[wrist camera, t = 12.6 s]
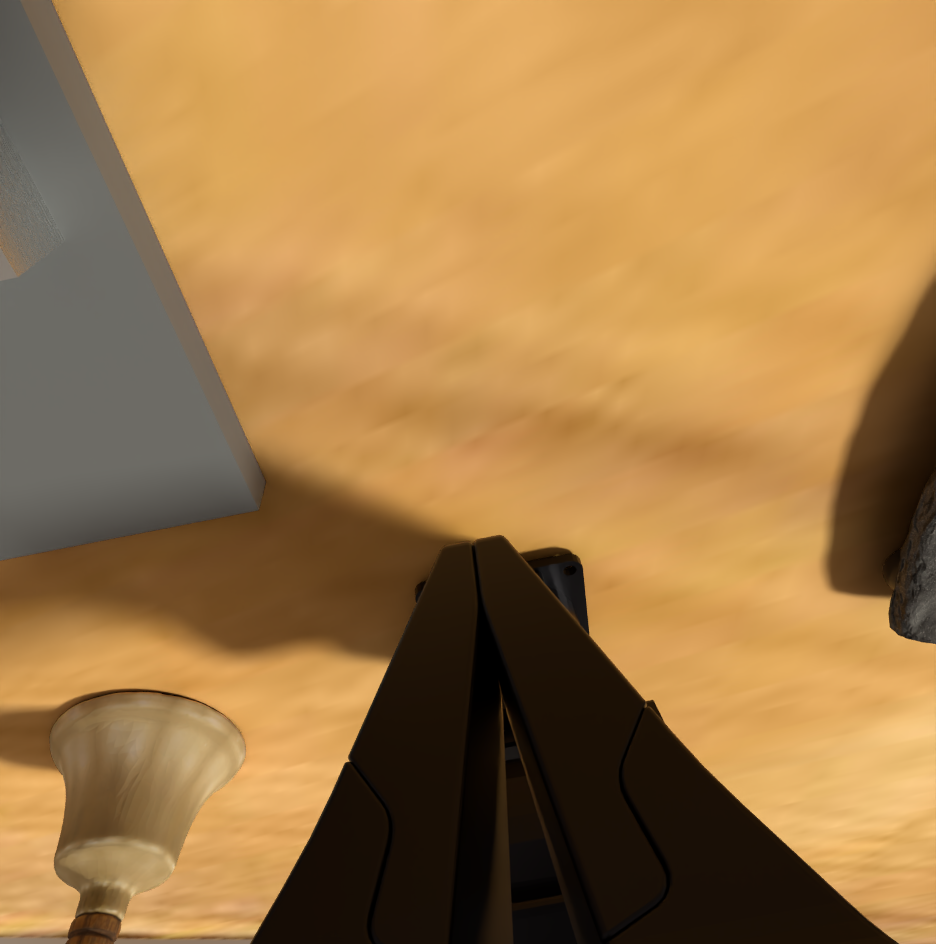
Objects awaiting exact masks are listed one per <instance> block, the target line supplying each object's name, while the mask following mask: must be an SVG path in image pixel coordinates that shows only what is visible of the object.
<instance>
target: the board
mask: <svg viewBox="0 0 936 944" xmlns="http://www.w3.org/2000/svg"><path fill="white" fill-rule="evenodd" d="M0 119H1V121H2V123H3V125H4V127H5V128H6V130H7V132H8V134H9V136H10V138H11V140H12V142H13V144H14V146H15V147H16V149H17V151H18V153H19V155H20V157H21V159H22V161H23V163H24V165H25V166H26V168H27V170H28V172H29V174H30V176H31V178H32V180H33V182H34V184H35V186H36V187H37V189H38V191H39V193H40V195H41V197H42V199H43V201H44V203H45V205H46V206H47V208H48V210H49V212H50V214H51V216H52V218H53V220H54V222H55V224H56V226H57V227H58V229H59V231H60V233H61V235H62V237H63V239H64V242H63V243H62V244H61V245H59V246H58V247H57V248H55V249H54V250H53V251H51V252H50V253H49V254H47V255H46V256H45V257H44V258H42V259H41V260H40V261H38V262H37V263H36V264H34V265H33V266H32V267H31V268H29V269H28V270H27V271H25V272H24V273H23V274H21V275H20V276H19V277H17V278H12V279H7V280H2V281H0V561H1V560H6V559H11V558H16V557H21V556H27V555H32V554H37V553H42V552H47V551H52V550H57V549H62V548H67V547H73V546H78V545H83V544H88V543H93V542H98V541H103V540H108V539H114V538H119V537H124V536H129V535H134V534H139V533H144V532H149V531H155V530H160V529H165V528H170V527H175V526H180V525H185V524H190V523H195V522H201V521H206V520H211V519H216V518H221V517H226V516H231V515H236V514H242V513H247V512H252V511H257V510H259V508H260V504H261V500H262V496H263V492H264V488H265V484H266V481H265V479H264V476H263V474H262V472H261V470H260V467H259V465H258V463H257V461H256V458H255V456H254V454H253V452H252V449H251V447H250V445H249V443H248V440H247V438H246V436H245V434H244V431H243V429H242V427H241V425H240V423H239V420H238V418H237V416H236V414H235V411H234V409H233V407H232V405H231V402H230V400H229V398H228V396H227V393H226V391H225V389H224V387H223V384H222V382H221V380H220V378H219V375H218V373H217V371H216V369H215V366H214V364H213V362H212V360H211V357H210V355H209V353H208V351H207V348H206V346H205V344H204V342H203V340H202V337H201V335H200V333H199V331H198V328H197V326H196V324H195V322H194V319H193V317H192V315H191V313H190V310H189V308H188V306H187V304H186V301H185V299H184V297H183V295H182V292H181V290H180V288H179V286H178V283H177V281H176V279H175V277H174V274H173V272H172V270H171V268H170V265H169V263H168V261H167V259H166V256H165V254H164V252H163V250H162V248H161V245H160V243H159V241H158V239H157V236H156V234H155V232H154V230H153V227H152V225H151V223H150V221H149V218H148V216H147V214H146V212H145V209H144V207H143V205H142V203H141V200H140V198H139V196H138V194H137V191H136V189H135V187H134V185H133V182H132V180H131V178H130V176H129V173H128V171H127V169H126V167H125V165H124V162H123V160H122V158H121V156H120V153H119V151H118V149H117V147H116V144H115V142H114V140H113V138H112V135H111V133H110V131H109V129H108V126H107V124H106V122H105V120H104V117H103V115H102V113H101V111H100V108H99V106H98V104H97V102H96V99H95V97H94V95H93V93H92V90H91V88H90V86H89V84H88V81H87V79H86V77H85V75H84V73H83V70H82V68H81V66H80V64H79V61H78V59H77V57H76V55H75V52H74V50H73V48H72V46H71V43H70V41H69V39H68V37H67V34H66V32H65V30H64V28H63V25H62V23H61V21H60V19H59V16H58V14H57V12H56V10H55V7H54V5H53V3H52V1H51V0H0Z"/></svg>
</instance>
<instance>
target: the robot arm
mask: <svg viewBox="0 0 936 944" xmlns="http://www.w3.org/2000/svg"><path fill="white" fill-rule="evenodd" d="M568 566H572V567H570V568H566V567H568ZM415 596H416V603H417V604H416V606H415V608H414V610H413V612H412V615H411V617H410V619H409V621H408V624H407V626H406V628H405V630H404V633H403V635H402V637H401V639H400V642H399V644H398V646H397V648H396V651H395V653H394V655H393V657H392V659H391V662H390V664H389V666H388V668H387V671H386V673H385V675H384V677H383V680H382V682H381V684H380V686H379V689H378V691H377V693H376V695H375V698H374V700H373V702H372V704H371V706H370V709H369V711H368V713H367V715H366V718H365V720H364V722H363V724H362V727H361V729H360V731H359V733H358V736H357V738H356V740H355V742H354V745H353V747H352V749H351V751H350V754H349V756H348V759H349V761H350V762H346V763H345V764H344V766H343V768H342V771H341V773H340V775H339V777H338V780H337V782H336V784H335V787H334V789H333V791H332V793H331V795H330V797H329V799H328V802H327V804H326V806H325V808H324V810H323V812H322V814H321V816H320V818H319V820H318V822H317V824H316V826H315V828H314V831H313V833H312V835H311V837H310V839H309V840H308V842H307V844H306V846H305V848H304V850H303V851H302V853H301V855H300V857H299V859H298V860H297V862H296V864H295V866H294V868H293V870H292V871H291V873H290V875H289V877H288V879H287V880H286V882H285V884H284V886H283V888H282V889H281V891H280V893H279V895H278V896H277V898H276V900H275V902H274V903H273V905H272V907H271V908H270V910H269V912H268V914H267V915H266V917H265V919H264V921H263V922H262V924H261V926H260V927H259V929H258V931H257V933H256V934H255V936H254V938H253V940H252V941H251V943H250V944H898V943H897V942H896V941H894V940H893V939H892V938H890V937H889V936H888V935H887V934H885V933H884V932H883V931H882V930H880V929H879V928H878V927H877V926H875V925H874V924H873V923H872V922H871V921H869V920H868V919H867V918H866V917H865V916H864V915H862V914H861V913H860V912H859V911H858V910H857V909H856V908H855V907H853V906H852V905H851V904H850V903H849V902H848V901H847V900H846V899H844V898H843V897H842V896H841V895H840V894H839V893H838V892H837V891H836V890H835V889H834V888H833V887H832V886H830V885H829V884H828V883H827V882H826V881H825V880H824V879H823V878H822V877H821V876H820V875H819V874H817V873H816V872H815V871H814V870H813V869H812V868H811V867H810V866H809V865H808V864H807V863H806V862H804V861H803V860H802V859H801V858H800V857H799V856H798V855H797V854H796V853H795V852H794V851H793V850H792V849H790V848H789V847H788V846H787V845H786V844H785V843H784V842H783V841H782V840H781V839H780V838H779V837H777V836H776V835H775V834H774V833H773V832H772V831H771V830H770V829H769V828H768V827H767V826H766V825H765V824H763V823H762V822H761V821H760V820H759V819H758V818H757V817H756V816H755V815H754V814H753V813H752V812H750V811H749V810H748V809H747V808H746V807H745V806H744V805H743V804H742V803H741V802H740V801H739V800H738V799H737V798H736V797H735V796H734V795H733V794H732V793H731V792H730V791H729V790H728V789H726V788H725V787H724V786H723V785H722V784H721V783H720V782H719V781H718V780H717V779H716V778H715V777H714V776H713V775H712V774H711V773H710V772H709V771H708V770H707V769H706V768H705V767H704V766H703V765H702V764H701V763H700V762H699V761H698V760H697V758H696V757H695V756H694V755H693V754H692V753H691V752H690V751H689V750H688V749H687V747H686V746H685V745H684V744H683V743H682V742H681V741H680V740H679V739H678V738H677V737H676V735H675V734H674V733H673V732H672V731H671V730H670V729H669V728H668V726H667V725H666V724H665V723H664V721H663V719H662V717H661V715H660V713H659V711H658V709H657V707H656V704H655V702H654V701H653V700H650V701H645V700H644V699H643V698H642V697H641V695H640V694H639V693H638V692H637V691H636V690H635V688H634V687H633V686H632V685H631V684H630V682H629V681H628V680H627V679H626V678H625V677H624V675H623V674H622V673H621V672H620V671H619V670H618V668H617V667H616V666H615V665H614V664H613V663H612V661H611V660H610V659H609V658H608V657H607V656H606V654H605V653H604V652H603V651H602V650H601V649H600V647H599V646H598V645H597V644H596V643H595V642H594V640H593V639H592V638H591V637H590V636H589V627H588V616H587V606H586V596H585V586H584V575H583V567H582V564H581V561H580V559H579V557H578V556H576V555H574V554H565V555H559V556H554V557H549V558H544V559H539V560H533V561H528V562H526V561H525V560H524V559H523V558H522V556H521V555H520V554H519V553H518V552H517V550H516V549H515V548H514V547H513V546H512V545H511V543H510V542H509V541H508V540H507V539H506V538H505V537H504V536H502V535H497V536H491V537H486V538H481V539H477V540H476V541H475V542H474V546H473V544H472V543H471V542H469V541H465V542H460V543H455V544H450V545H445V546H444V547H442V548H441V550H440V552H439V554H438V556H437V559H436V561H435V563H434V565H433V568H432V570H431V572H430V574H429V577H428V579H427V581H424V582H421V583H420V584H418V585H417V587H416V588H415Z"/></svg>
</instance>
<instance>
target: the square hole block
mask: <svg viewBox="0 0 936 944" xmlns="http://www.w3.org/2000/svg"><path fill="white" fill-rule="evenodd" d="M63 242H64V239H63V237H62V235H61V233H60V231H59V229H58V227H57V226H56V224H55V222H54V220H53V218H52V216H51V214H50V212H49V210H48V208H47V206H46V205H45V203H44V201H43V199H42V197H41V195H40V193H39V191H38V189H37V187H36V186H35V184H34V182H33V180H32V178H31V176H30V174H29V172H28V170H27V168H26V166H25V165H24V163H23V161H22V159H21V157H20V155H19V153H18V151H17V149H16V147H15V146H14V144H13V142H12V140H11V138H10V136H9V134H8V132H7V130H6V128H5V127H4V125H3V123H2V121H1V119H0V281H2V280H7V279H12V278H17V277H19V276H20V275H21V274H23V273H24V272H25V271H27V270H28V269H29V268H31V267H32V266H33V265H34V264H36V263H37V262H38V261H40V260H41V259H42V258H44V257H45V256H46V255H47V254H49V253H50V252H51V251H53V250H54V249H55V248H57V247H58V246H59V245H61V244H62V243H63Z"/></svg>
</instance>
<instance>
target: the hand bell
mask: <svg viewBox="0 0 936 944" xmlns="http://www.w3.org/2000/svg"><path fill="white" fill-rule="evenodd" d="M49 743H50V750H51V755H52V759H53V761H54V763H55V765H56V767H57V768H58V770H59V771H60V773H61V774H62V775H63V778H64V782H65V787H66V803H65V812H64V819H63V825H62V830H61V834H60V838H59V842H58V846H57V850H56V853H55V857H54V869H55V871H56V874H57V875H58V877H59V878H60V879H61V880H62V881H63V882H65V883H66V884H67V885H69V886H71V887H73V888H75V889H76V890H77V891H78V892H79V893H80V901H79V905H78V908H77V911H76V915H75V919H74V920H73V922H72V923H71V926H70V929H69V932H68V938H69V940H68V941H67V942H66V944H114V942H115V941H116V939H117V938H118V935H119V932H120V929H121V921H122V920H123V919H124V916H125V913H126V910H127V906H128V904H129V901H130V900H131V898H132V897H133V896H135V895H137V894H139V893H143V892H146V891H149V890H151V889H154V888H156V887H158V886H160V885H161V884H163V883H164V882H165V881H166V880H167V879H168V878H169V877H170V875H171V874H172V872H173V870H174V868H175V866H176V863H177V860H178V857H179V854H180V851H181V849H182V846H183V844H184V841H185V839H186V836H187V834H188V831H189V829H190V827H191V825H192V823H193V821H194V819H195V817H196V815H197V813H198V812H199V810H200V808H201V807H202V806H203V804H204V803H205V801H206V800H207V799H208V798H209V797H210V796H211V795H212V794H213V793H215V792H216V791H218V790H220V789H221V788H222V787H224V786H225V785H226V784H228V783H229V782H230V781H231V780H232V779H233V777H234V776H235V775H236V774H237V772H238V771H239V769H240V768H241V766H242V764H243V762H244V760H245V754H246V746H245V741H244V738H243V736H242V734H241V732H240V731H239V730H238V728H237V727H236V726H235V725H234V724H233V723H232V722H231V721H230V720H228V719H227V718H226V717H225V716H224V715H222V714H221V713H219V712H217V711H216V710H214V709H212V708H210V707H208V706H206V705H204V704H202V703H199V702H196V701H193V700H189V699H186V698H182V697H176V696H172V695H164V694H161V693H151V692H122V693H114V694H109V695H105V696H101V697H97V698H93V699H90V700H87V701H83V702H81V703H79V704H77V705H75V706H74V707H72V708H70V709H69V710H68V711H66V712H65V713H64V714H62V715H61V716H60V717H59V719H58V720H57V721H56V723H55V724H54V726H53V728H52V730H51V733H50V737H49Z"/></svg>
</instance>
